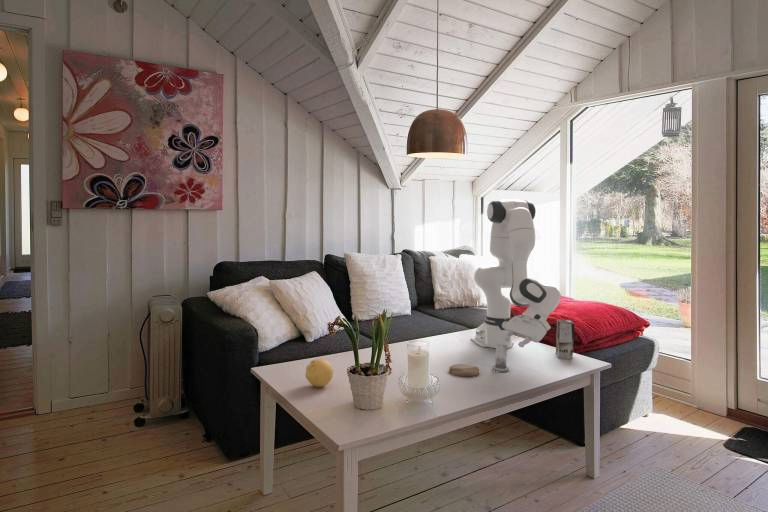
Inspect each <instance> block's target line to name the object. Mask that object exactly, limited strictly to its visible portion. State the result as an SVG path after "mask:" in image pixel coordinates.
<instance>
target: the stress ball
mask: <svg viewBox="0 0 768 512" xmlns="http://www.w3.org/2000/svg"><path fill="white" fill-rule="evenodd" d="M333 377H334V368H333V366H332V365H331V363H330V362H329V361H328V360H327V359H323V358H317V359H313V360H311V361H310V362H309V363H308V364H307V366H306V368H305V379H306V380H307V381H308V382H309V384H311V385H312V386H314V387H316V388H323V387H324V386H327V385H328V384H329V383H331V381H332V379H333Z"/></svg>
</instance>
